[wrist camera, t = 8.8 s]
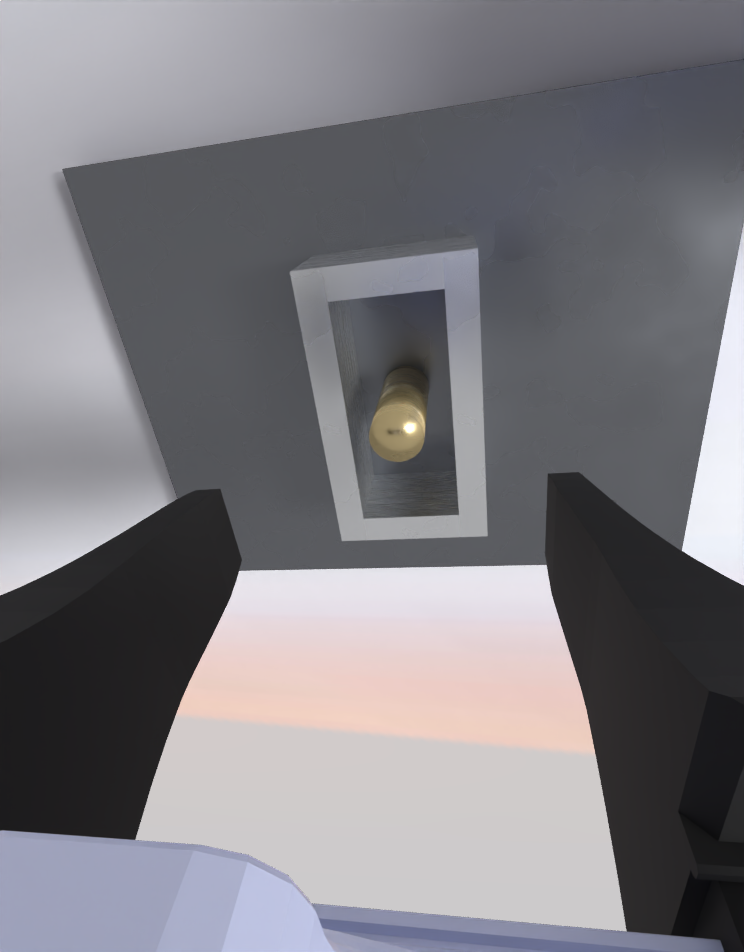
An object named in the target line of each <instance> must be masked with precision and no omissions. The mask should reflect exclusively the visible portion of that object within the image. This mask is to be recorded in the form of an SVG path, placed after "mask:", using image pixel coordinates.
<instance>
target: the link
mask: <svg viewBox="0 0 744 952" xmlns="http://www.w3.org/2000/svg"><path fill="white" fill-rule="evenodd" d="M290 276H291V281H292V286H293V291H294V296H295V302H296V307H297V312H298V317H299V322H300V327H301V333H302V338H303V343H304V348H305V353H306V358H307V364H308V369H309V374H310V379H311V384H312V389H313V395H314V400H315V405H316V410H317V415H318V420H319V425H320V431H321V436H322V441H323V446H324V451H325V456H326V462H327V467H328V472H329V477H330V482H331V487H332V493H333V498H334V503H335V508H336V513H337V518H338V524H339V529H340V534H341V539H342V541H359V540H390V539H420V538H451V537H481V536H488V532H487V502H486V472H485V443H484V413H483V383H482V354H481V324H480V294H479V264H478V247H477V244H476V241H475V238H474V235H470V236H462V237H454V238H446V239H439V240H431V241H423V242H415V243H407V244H399V245H391V246H383V247H375V248H368V249H360V250H352V251H344V252H336V253H328V254H320V255H313V256H312V257H310V258H309V259H307V260H306V261H304V262H303V263H301V264H300V265H298V266H297V267H296V268H294V269H293V270H291V271H290ZM439 289H445V302H446V318H447V334H448V350H449V365H450V381H451V397H452V413H453V428H454V444H455V460H456V471H441V472H422V473H404V474H385V475H374V471H373V464H372V457H371V450H370V443H369V437H368V430H367V423H366V416H365V410H364V403H363V396H362V389H361V383H360V376H359V369H358V362H357V355H356V349H355V342H354V335H353V328H352V322H351V315H350V308H349V301H348V300H349V299H358V298H367V297H376V296H385V295H394V294H403V293H412V292H421V291H430V290H439Z"/></svg>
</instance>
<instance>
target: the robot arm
mask: <svg viewBox="0 0 744 952" xmlns="http://www.w3.org/2000/svg"><path fill="white" fill-rule="evenodd" d="M545 557H546V563H547V569H548V575H549V581H550V586H551V592H552V596H553V600H554V603H555V606H556V609H557V613H558V616H559V619H560V622H561V626H562V629H563V632H564V635H565V639H566V642H567V645H568V648H569V651H570V654H571V658H572V661H573V664H574V667H575V670H576V674H577V677H578V680H579V683H580V686H581V690H582V694H583V698H584V701H585V705H586V709H587V714H588V719H589V724H590V729H591V734H592V739H593V744H594V749H595V754H596V759H597V763H598V769H599V774H600V779H601V785H602V790H603V796H604V801H605V806H606V812H607V817H608V823H609V828H610V834H611V840H612V846H613V852H614V857H615V863H616V868H617V874H618V880H619V886H620V893H621V899H622V905H623V910H624V917H625V923H626V929H627V932H625V931H613V930H603V929H592V928H581V927H570V926H569V927H568V926H557V925H547V924H536V923H525V922H513V921H503V920H491V919H480V918H469V917H458V916H447V915H436V914H424V913H413V912H402V911H391V910H380V909H369V908H357V907H346V906H335V905H324V904H313V903H311V902H310V901H309V899H308V898H307V896H306V895H305V894H304V893H303V892H302V891H301V890H300V888H299V887H298V886H297V885H296V884H295V883H294V881H293V880H292V879H291V878H290V877H289V876H288V875H287V874H285V873H283V872H281V871H279V870H277V869H275V868H273V867H271V866H269V865H267V864H265V863H263V862H261V861H259V860H257V859H255V858H253V857H251V856H249V855H246V854H242V853H237V852H232V851H228V850H223V849H218V848H213V847H209V846H204V845H195V844H181V843H168V842H155V841H141V840H135V839H136V835H137V832H138V829H139V825H140V822H141V818H142V815H143V812H144V808H145V805H146V802H147V798H148V795H149V791H150V788H151V785H152V782H153V779H154V776H155V773H156V769H157V767H158V764H159V761H160V758H161V755H162V752H163V749H164V746H165V743H166V740H167V737H168V734H169V732H170V729H171V726H172V724H173V721H174V718H175V715H176V713H177V710H178V707H179V705H180V702H181V699H182V697H183V695H184V692H185V690H186V688H187V686H188V683H189V681H190V679H191V677H192V675H193V673H194V671H195V669H196V667H197V665H198V663H199V661H200V659H201V657H202V655H203V653H204V651H205V649H206V647H207V645H208V643H209V641H210V639H211V637H212V635H213V633H214V631H215V629H216V627H217V625H218V622H219V620H220V618H221V616H222V614H223V612H224V610H225V608H226V606H227V604H228V602H229V599H230V597H231V594H232V591H233V588H234V585H235V582H236V579H237V576H238V572H239V569H240V566H241V562H242V558H241V555H240V552H239V548H238V545H237V542H236V539H235V535H234V532H233V529H232V525H231V522H230V519H229V516H228V512H227V509H226V506H225V502H224V499H223V496H222V493H221V489H207V490H195V491H193V492H190V493H188V494H186V495H184V496H182V497H181V498H179V499H177V500H175V501H174V502H172V503H170V504H168V505H167V506H165V507H163V508H162V509H160V510H159V511H157V512H155V513H154V514H152V515H150V516H149V517H147V518H146V519H144V520H142V521H141V522H139V523H137V524H136V525H134V526H133V527H131V528H129V529H128V530H126V531H125V532H123V533H121V534H120V535H118V536H116V537H115V538H113V539H111V540H109V541H108V542H106V543H104V544H102V545H101V546H99V547H97V548H95V549H94V550H92V551H90V552H89V553H87V554H85V555H83V556H82V557H80V558H78V559H76V560H74V561H73V562H71V563H69V564H67V565H65V566H63V567H61V568H59V569H57V570H55V571H53V572H51V573H49V574H47V575H45V576H43V577H41V578H39V579H37V580H35V581H33V582H31V583H28V584H26V585H24V586H22V587H20V588H17V589H15V590H13V591H10V592H8V593H5V594H3V595H1V596H0V952H744V586H743V585H741V584H739V583H737V582H735V581H733V580H731V579H729V578H728V577H726V576H724V575H722V574H720V573H719V572H717V571H715V570H713V569H712V568H710V567H708V566H706V565H704V564H703V563H701V562H699V561H697V560H696V559H694V558H692V557H691V556H689V555H687V554H686V553H684V552H683V551H681V550H679V549H678V548H676V547H675V546H673V545H672V544H670V543H669V542H667V541H666V540H665V539H663V538H662V537H660V536H659V535H657V534H656V533H654V532H653V531H651V530H650V529H649V528H647V527H646V526H645V525H643V524H642V523H641V522H639V521H638V520H637V519H635V518H634V517H633V516H631V515H630V514H629V513H628V512H626V511H625V510H624V509H622V508H621V507H620V506H619V505H618V504H616V503H615V502H614V501H613V500H611V499H610V498H609V497H608V496H607V495H605V494H604V493H603V492H602V491H601V490H600V489H598V488H597V487H596V486H595V485H594V484H593V483H591V482H590V481H589V480H588V479H587V478H586V477H584V476H583V475H582V474H581V473H579V472H570V473H548V480H547V508H546V536H545Z"/></svg>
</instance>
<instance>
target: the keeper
mask: <svg viewBox="0 0 744 952" xmlns="http://www.w3.org/2000/svg"><path fill="white" fill-rule="evenodd" d="M62 170H63V173H64V176H65V178H66V181H67V184H68V187H69V190H70V193H71V196H72V198H73V201H74V204H75V207H76V210H77V213H78V216H79V218H80V221H81V224H82V227H83V230H84V233H85V235H86V238H87V241H88V244H89V247H90V250H91V253H92V255H93V258H94V261H95V264H96V267H97V270H98V273H99V275H100V278H101V281H102V284H103V287H104V290H105V293H106V295H107V298H108V301H109V304H110V307H111V310H112V312H113V315H114V318H115V321H116V324H117V327H118V330H119V332H120V335H121V338H122V341H123V344H124V347H125V350H126V352H127V355H128V358H129V361H130V364H131V367H132V369H133V372H134V375H135V378H136V381H137V384H138V387H139V389H140V392H141V395H142V398H143V401H144V404H145V407H146V409H147V412H148V415H149V418H150V421H151V424H152V426H153V429H154V432H155V435H156V438H157V441H158V444H159V446H160V449H161V452H162V455H163V458H164V461H165V464H166V466H167V469H168V472H169V475H170V478H171V481H172V484H173V486H174V489H175V492H176V495H177V498H178V499H179V498H181V497H182V496H184V495H186V494H188V493H190V492H193V491H195V490H207V489H221V493H222V496H223V499H224V502H225V506H226V509H227V512H228V516H229V519H230V522H231V525H232V529H233V532H234V535H235V539H236V542H237V545H238V548H239V552H240V555H241V558H242V562H241V566H240V569H239V571H246V570H298V569H349V568H401V567H453V566H504V565H547V563H546V557H545V536H546V508H547V480H548V473H570V472H579V473H581V474H582V475H583V476H584V477H586V478H587V479H588V480H589V481H590V482H591V483H593V484H594V485H595V486H596V487H597V488H598V489H600V490H601V491H602V492H603V493H604V494H605V495H607V496H608V497H609V498H610V499H611V500H613V501H614V502H615V503H616V504H618V505H619V506H620V507H621V508H622V509H624V510H625V511H626V512H628V513H629V514H630V515H631V516H633V517H634V518H635V519H637V520H638V521H639V522H641V523H642V524H643V525H645V526H646V527H647V528H649V529H650V530H651V531H653V532H654V533H656V534H657V535H659V536H660V537H662V538H663V539H665V540H666V541H667V542H669V543H670V544H672V545H673V546H675V547H676V548H678V549H679V550H681V551H682V546H683V541H684V535H685V530H686V525H687V520H688V514H689V509H690V504H691V498H692V493H693V488H694V482H695V477H696V472H697V467H698V461H699V456H700V451H701V445H702V440H703V435H704V429H705V424H706V419H707V414H708V408H709V403H710V398H711V392H712V387H713V382H714V376H715V371H716V366H717V361H718V355H719V350H720V345H721V339H722V334H723V329H724V323H725V318H726V313H727V308H728V302H729V297H730V292H731V286H732V281H733V276H734V270H735V265H736V260H737V255H738V249H739V244H740V239H741V233H742V228H743V223H744V59H743V60H736V61H730V62H724V63H718V64H712V65H705V66H699V67H693V68H687V69H681V70H674V71H668V72H662V73H656V74H650V75H643V76H637V77H631V78H625V79H619V80H612V81H606V82H600V83H594V84H588V85H581V86H575V87H569V88H563V89H556V90H550V91H544V92H538V93H532V94H525V95H519V96H513V97H507V98H501V99H494V100H488V101H482V102H476V103H470V104H463V105H457V106H451V107H445V108H439V109H432V110H426V111H420V112H414V113H408V114H401V115H395V116H389V117H383V118H376V119H370V120H364V121H358V122H352V123H345V124H339V125H333V126H327V127H321V128H314V129H308V130H302V131H296V132H290V133H283V134H277V135H271V136H265V137H259V138H252V139H246V140H240V141H234V142H228V143H221V144H215V145H209V146H203V147H196V148H190V149H184V150H178V151H172V152H165V153H159V154H153V155H147V156H141V157H134V158H128V159H122V160H116V161H110V162H103V163H97V164H91V165H85V166H79V167H72V168H66V169H62ZM470 235H474V238H475V241H476V244H477V247H478V264H479V294H480V324H481V354H482V383H483V413H484V443H485V472H486V502H487V532H488V536H481V537H451V538H420V539H390V540H359V541H342V539H341V534H340V529H339V524H338V518H337V513H336V508H335V503H334V498H333V493H332V487H331V482H330V477H329V472H328V467H327V462H326V456H325V451H324V446H323V441H322V436H321V431H320V425H319V420H318V415H317V410H316V405H315V400H314V395H313V389H312V384H311V379H310V374H309V369H308V364H307V358H306V353H305V348H304V343H303V338H302V333H301V327H300V322H299V317H298V312H297V307H296V302H295V296H294V291H293V286H292V281H291V276H290V271H291V270H293V269H294V268H296V267H297V266H298V265H300V264H301V263H303V262H304V261H306V260H307V259H309V258H310V257H312V256H313V255H320V254H328V253H336V252H344V251H352V250H360V249H368V248H375V247H383V246H391V245H399V244H407V243H415V242H423V241H431V240H439V239H446V238H454V237H462V236H470ZM348 301H349V308H350V315H351V322H352V328H353V335H354V342H355V349H356V355H357V362H358V369H359V376H360V383H361V389H362V396H363V403H364V410H365V416H366V423H367V430H368V437H369V443H370V450H371V457H372V464H373V471H374V475H385V474H404V473H422V472H441V471H456V460H455V444H454V428H453V413H452V397H451V381H450V365H449V350H448V334H447V318H446V302H445V289H439V290H430V291H421V292H412V293H403V294H394V295H385V296H376V297H367V298H358V299H349V300H348Z"/></svg>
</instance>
